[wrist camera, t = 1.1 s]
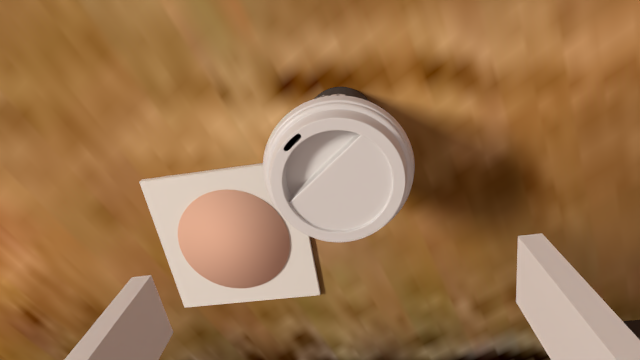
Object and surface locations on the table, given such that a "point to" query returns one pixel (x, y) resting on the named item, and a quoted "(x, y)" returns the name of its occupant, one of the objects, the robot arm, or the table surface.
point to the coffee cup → (338, 166)
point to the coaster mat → (228, 238)
